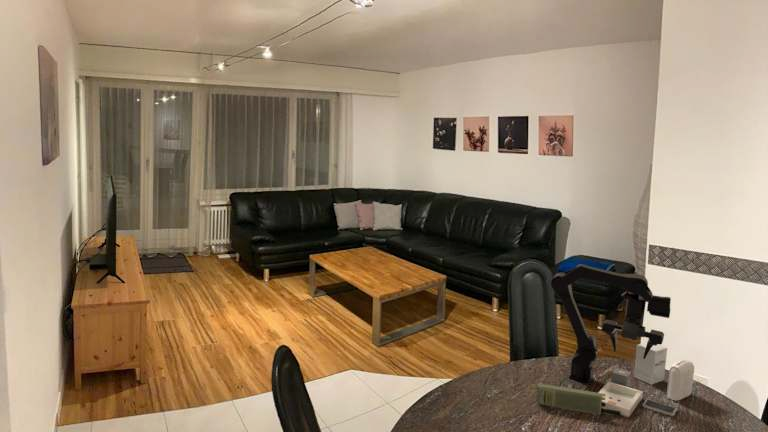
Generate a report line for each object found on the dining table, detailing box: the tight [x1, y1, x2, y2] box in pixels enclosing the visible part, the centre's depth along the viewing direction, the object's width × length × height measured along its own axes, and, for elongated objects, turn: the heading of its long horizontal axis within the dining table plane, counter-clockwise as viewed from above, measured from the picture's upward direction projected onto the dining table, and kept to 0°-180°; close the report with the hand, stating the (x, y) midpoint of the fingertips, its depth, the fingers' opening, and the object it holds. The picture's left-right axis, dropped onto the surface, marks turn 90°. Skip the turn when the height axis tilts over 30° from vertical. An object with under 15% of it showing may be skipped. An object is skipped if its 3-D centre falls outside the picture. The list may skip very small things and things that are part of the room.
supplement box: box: [633, 341, 668, 386], centre depth 186 cm, size 7×7×13 cm
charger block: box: [610, 367, 632, 388], centre depth 180 cm, size 5×5×6 cm
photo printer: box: [666, 359, 695, 402], centre depth 174 cm, size 10×4×12 cm, turn 123°
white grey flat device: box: [597, 380, 644, 418], centre depth 170 cm, size 11×16×3 cm
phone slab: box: [642, 398, 678, 418], centre depth 166 cm, size 5×9×1 cm, turn 50°
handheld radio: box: [536, 382, 621, 417], centre depth 164 cm, size 7×3×25 cm
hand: (629, 355), depth 178 cm, fingers open, 9 cm apart
